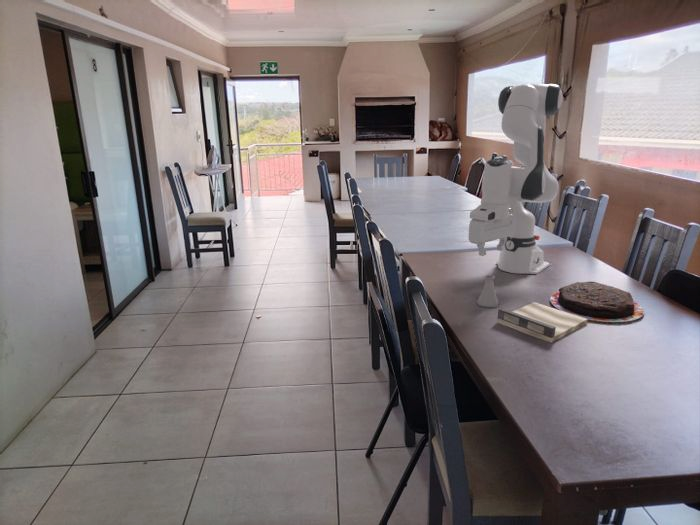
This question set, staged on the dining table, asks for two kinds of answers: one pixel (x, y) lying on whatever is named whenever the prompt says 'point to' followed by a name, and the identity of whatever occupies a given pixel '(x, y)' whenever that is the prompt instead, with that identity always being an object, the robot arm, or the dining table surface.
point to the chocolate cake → (597, 303)
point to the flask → (488, 294)
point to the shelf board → (541, 321)
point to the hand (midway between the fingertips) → (491, 252)
